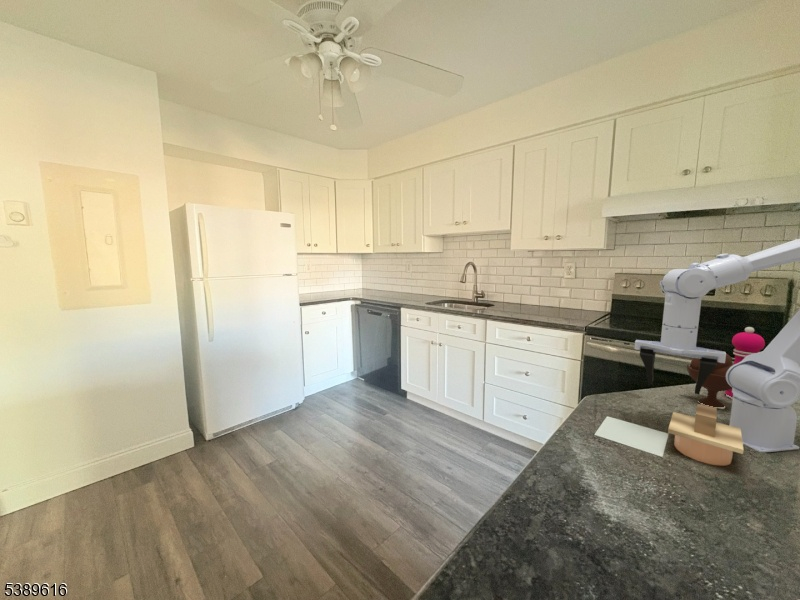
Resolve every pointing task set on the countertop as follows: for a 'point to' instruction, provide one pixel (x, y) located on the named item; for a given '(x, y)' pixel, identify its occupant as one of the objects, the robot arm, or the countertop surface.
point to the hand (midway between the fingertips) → (672, 387)
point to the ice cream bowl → (712, 380)
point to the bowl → (703, 451)
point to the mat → (633, 435)
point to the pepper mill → (746, 346)
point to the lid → (706, 429)
